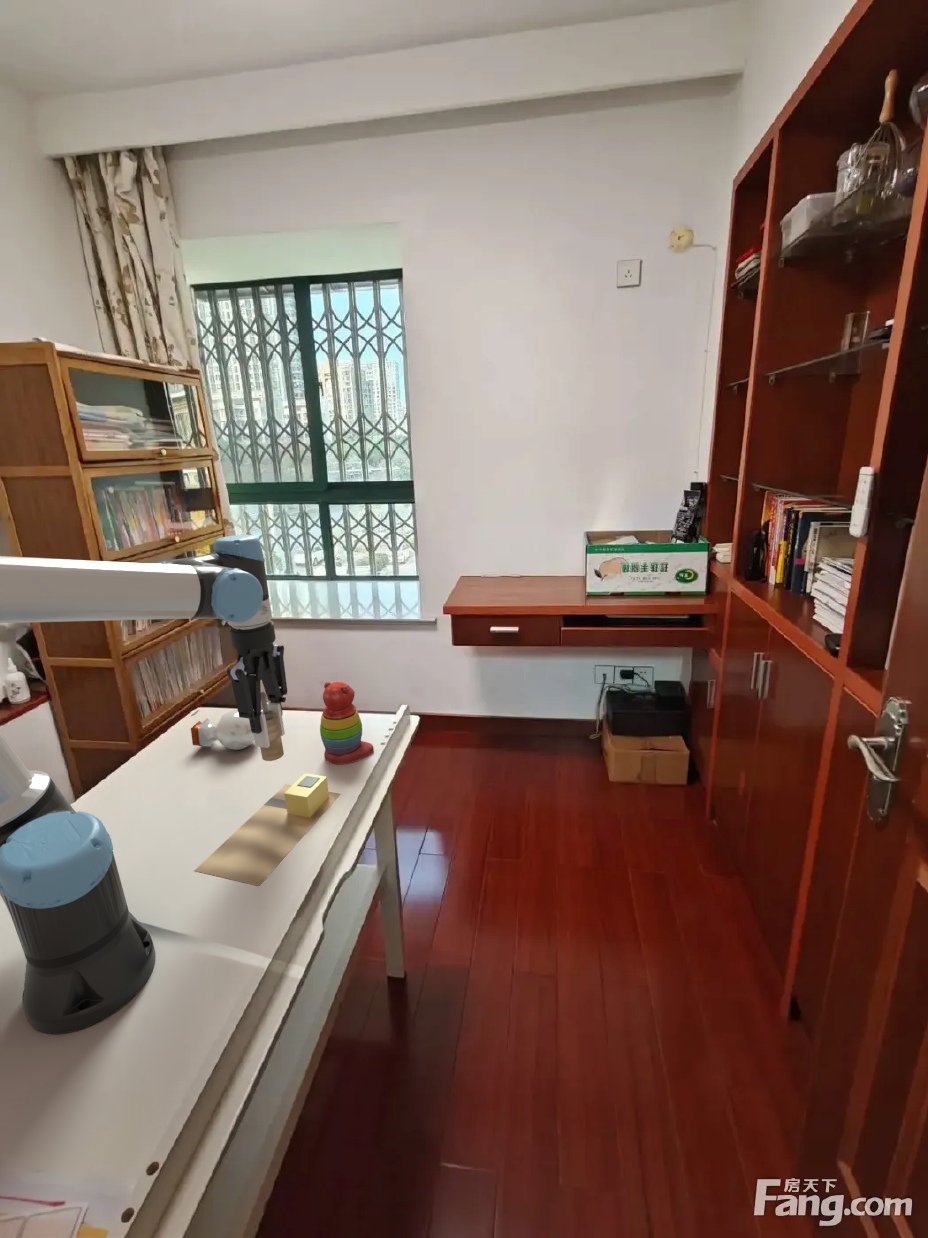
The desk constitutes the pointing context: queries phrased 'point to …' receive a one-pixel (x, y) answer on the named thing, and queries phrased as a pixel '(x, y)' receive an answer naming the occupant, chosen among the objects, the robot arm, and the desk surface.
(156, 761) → the desk surface
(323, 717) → the stacking bear
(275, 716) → the awl
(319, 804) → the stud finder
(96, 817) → the robot arm
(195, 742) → the potion bottle
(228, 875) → the board
